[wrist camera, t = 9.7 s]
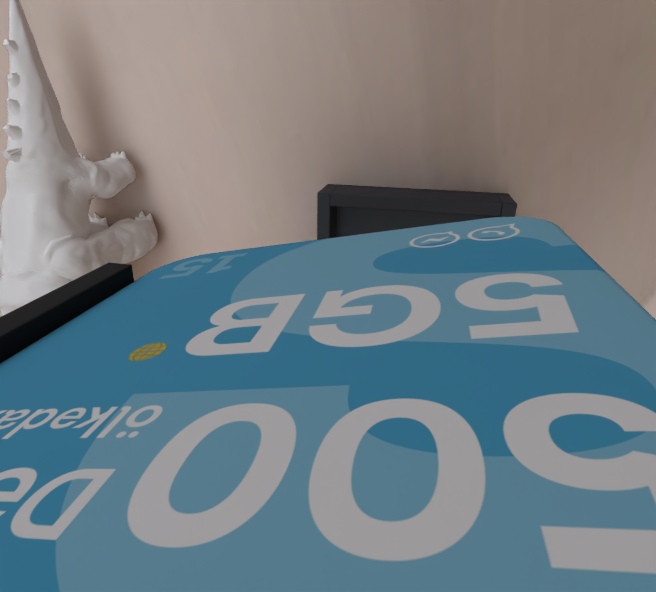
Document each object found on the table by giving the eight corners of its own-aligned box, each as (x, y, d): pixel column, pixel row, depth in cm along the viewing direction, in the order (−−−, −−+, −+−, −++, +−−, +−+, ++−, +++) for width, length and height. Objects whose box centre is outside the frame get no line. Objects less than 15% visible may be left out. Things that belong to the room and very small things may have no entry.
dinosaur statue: (115, 326, 39) (6, 404, 29) (23, 0, 29) (-184, -51, 20) (187, 328, 37) (98, 411, 27) (113, -14, 28) (-61, -77, 18)
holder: (508, 193, 28) (517, 203, 25) (468, 419, 35) (471, 446, 32) (327, 183, 30) (317, 192, 27) (324, 398, 37) (315, 422, 34)
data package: (546, 208, 12) (1317, 906, 2) (547, 350, 14) (939, 1171, 3) (169, 257, 15) (-423, 612, 5) (205, 368, 17) (-173, 824, 6)
